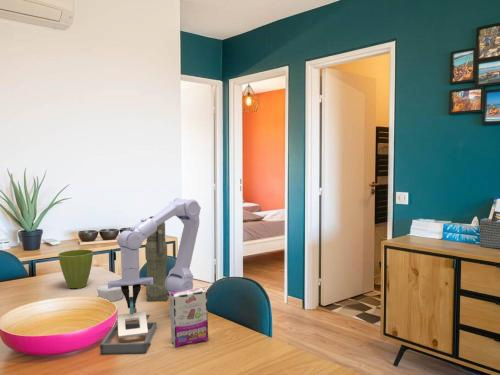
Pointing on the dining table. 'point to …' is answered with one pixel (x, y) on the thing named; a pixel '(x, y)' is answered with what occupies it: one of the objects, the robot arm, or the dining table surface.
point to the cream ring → (129, 317)
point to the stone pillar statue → (156, 265)
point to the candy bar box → (189, 316)
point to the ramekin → (110, 292)
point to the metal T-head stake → (134, 311)
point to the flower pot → (76, 267)
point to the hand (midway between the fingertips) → (131, 307)
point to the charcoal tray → (127, 347)
